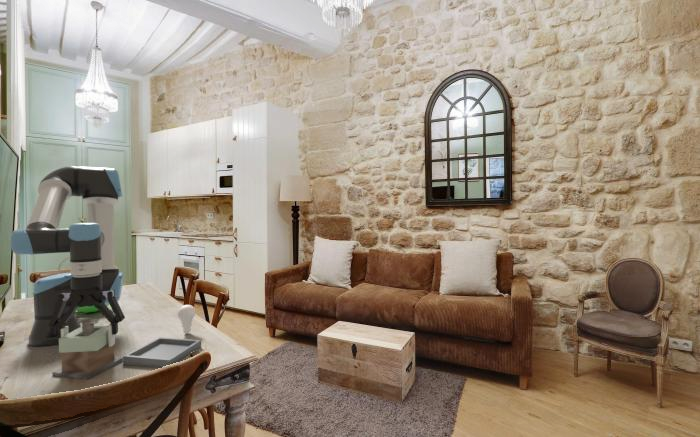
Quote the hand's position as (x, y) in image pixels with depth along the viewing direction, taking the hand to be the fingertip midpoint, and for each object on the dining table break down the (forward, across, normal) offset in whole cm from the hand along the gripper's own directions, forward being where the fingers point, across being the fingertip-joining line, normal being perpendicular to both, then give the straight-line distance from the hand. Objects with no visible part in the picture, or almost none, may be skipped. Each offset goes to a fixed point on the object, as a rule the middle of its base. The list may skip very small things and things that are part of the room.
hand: (88, 347), depth 106 cm
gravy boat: (+7, -25, +65) cm, 70 cm away
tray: (+6, +20, +4) cm, 21 cm away
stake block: (+6, 0, 0) cm, 6 cm away
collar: (-1, 0, 0) cm, 1 cm away
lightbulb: (+7, +23, +23) cm, 33 cm away
